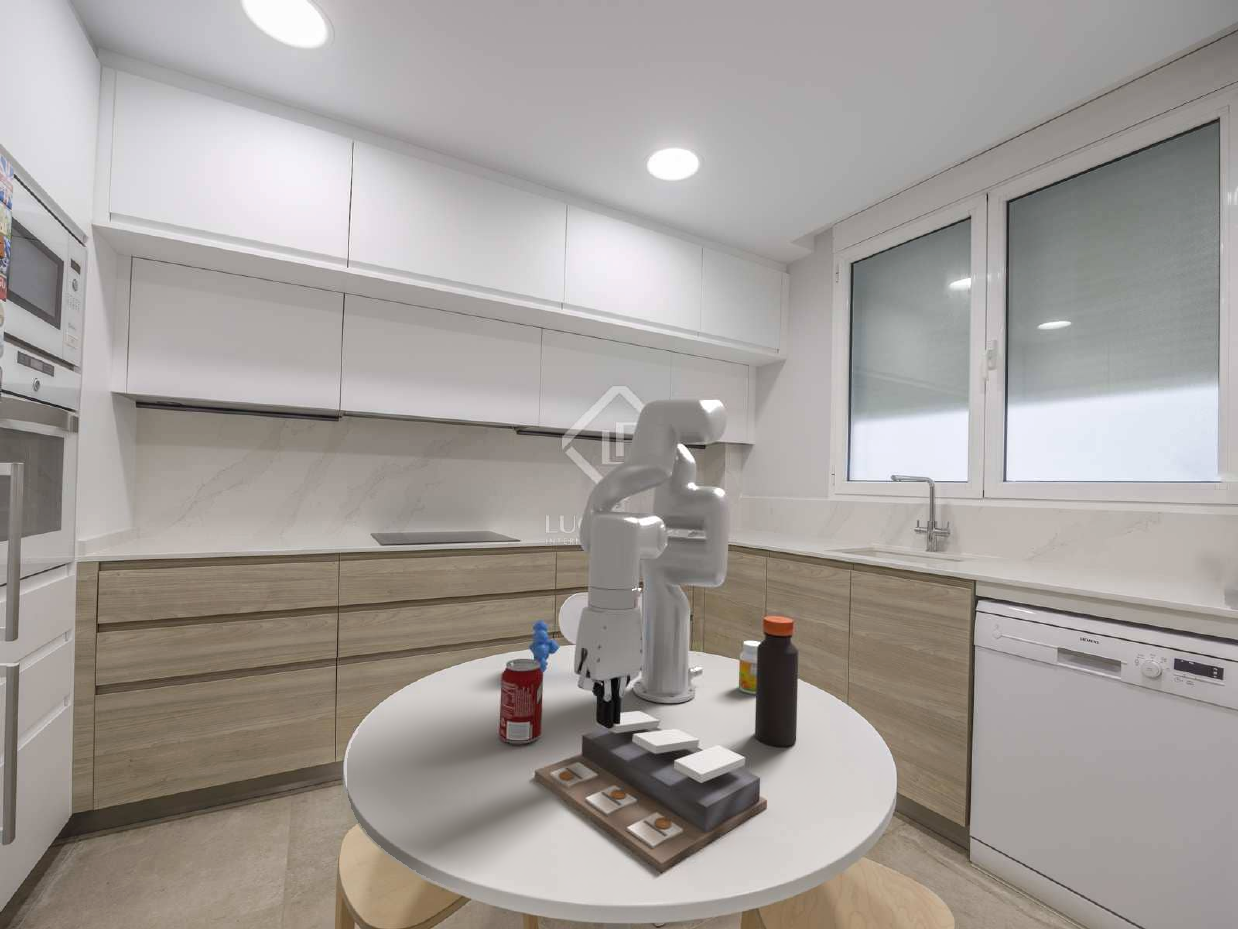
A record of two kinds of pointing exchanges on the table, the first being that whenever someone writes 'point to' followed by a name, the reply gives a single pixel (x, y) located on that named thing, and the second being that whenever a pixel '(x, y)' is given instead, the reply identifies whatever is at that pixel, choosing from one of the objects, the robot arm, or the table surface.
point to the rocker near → (709, 763)
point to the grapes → (542, 645)
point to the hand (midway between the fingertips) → (607, 723)
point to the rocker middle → (665, 740)
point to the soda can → (521, 701)
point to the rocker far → (634, 722)
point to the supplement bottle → (748, 667)
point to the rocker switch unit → (651, 796)
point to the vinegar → (776, 684)
